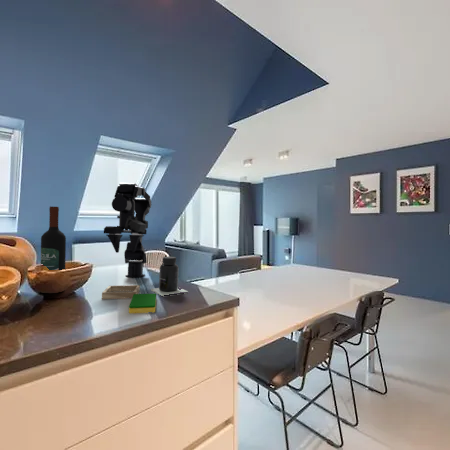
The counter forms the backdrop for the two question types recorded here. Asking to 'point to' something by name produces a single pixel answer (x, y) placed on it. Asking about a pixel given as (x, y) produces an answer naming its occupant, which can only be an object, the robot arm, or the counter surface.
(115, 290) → the frame
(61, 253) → the wine bottle
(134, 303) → the dish sponge
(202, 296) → the counter surface
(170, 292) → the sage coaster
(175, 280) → the supplement bottle
